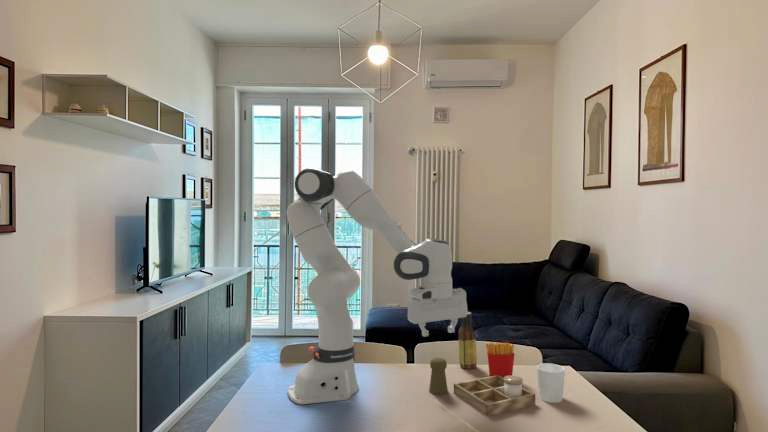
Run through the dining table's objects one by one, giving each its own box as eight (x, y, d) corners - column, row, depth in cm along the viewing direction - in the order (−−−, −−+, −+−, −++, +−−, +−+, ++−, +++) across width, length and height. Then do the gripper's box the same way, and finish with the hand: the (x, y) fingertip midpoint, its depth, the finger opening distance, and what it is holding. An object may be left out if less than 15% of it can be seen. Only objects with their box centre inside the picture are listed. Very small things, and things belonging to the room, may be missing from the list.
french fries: (512, 378, 160) (512, 340, 160) (515, 383, 156) (515, 344, 155) (485, 378, 161) (485, 340, 160) (487, 383, 156) (487, 344, 156)
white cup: (547, 407, 138) (547, 373, 138) (531, 396, 145) (531, 364, 145) (570, 404, 140) (570, 370, 140) (553, 393, 147) (554, 362, 147)
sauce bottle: (479, 365, 173) (479, 312, 172) (472, 371, 168) (472, 315, 167) (462, 362, 176) (462, 310, 176) (455, 367, 171) (455, 313, 171)
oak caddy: (487, 418, 131) (487, 405, 131) (453, 395, 147) (453, 383, 146) (535, 406, 138) (535, 394, 138) (498, 386, 154) (498, 374, 154)
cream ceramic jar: (511, 406, 137) (511, 383, 137) (499, 399, 142) (499, 377, 141) (526, 403, 139) (526, 380, 139) (514, 396, 144) (514, 374, 144)
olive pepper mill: (447, 398, 145) (447, 362, 144) (427, 396, 146) (427, 361, 146) (448, 390, 151) (448, 356, 150) (429, 388, 152) (429, 355, 152)
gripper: (460, 286, 155) (460, 327, 155) (404, 291, 146) (405, 335, 146) (471, 289, 149) (471, 332, 149) (414, 295, 140) (414, 341, 141)
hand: (438, 334), depth 148 cm, fingers open, 8 cm apart
